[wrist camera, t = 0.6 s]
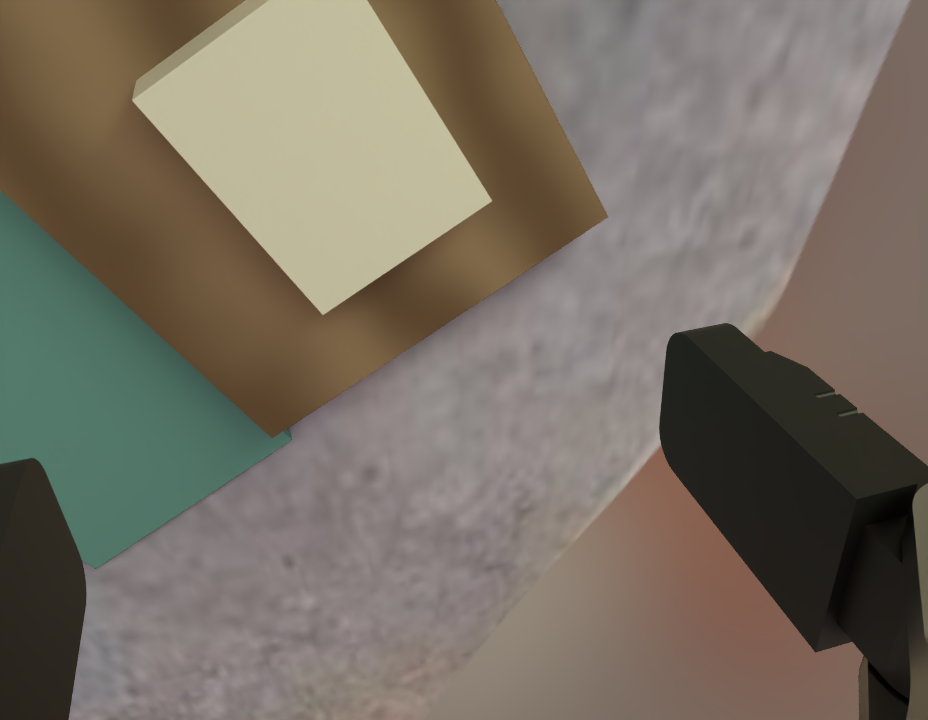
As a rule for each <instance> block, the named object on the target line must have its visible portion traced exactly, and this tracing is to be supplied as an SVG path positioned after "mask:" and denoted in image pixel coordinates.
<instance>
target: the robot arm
mask: <svg viewBox="0 0 928 720" xmlns="http://www.w3.org/2000/svg"><path fill="white" fill-rule="evenodd" d="M659 431H660V440H661V445H662V449H663V452H664V455H665V457H666V460H667V462H668V464H669V466H670V467H671V469H672V470H673V472H674V473H675V474H676V476H677V477H678V478H679V479H680V481H681V482H682V483H683V485H684V486H685V487H686V488H687V489H688V491H689V492H690V493H691V495H692V496H693V497H694V498H695V500H696V501H697V502H698V504H699V505H700V506H701V507H702V509H703V510H704V511H705V512H706V514H707V515H708V516H709V517H710V519H711V520H712V521H713V523H714V524H715V525H716V526H717V528H718V529H719V530H720V531H721V533H722V534H723V535H724V537H725V538H726V539H727V540H728V542H729V543H730V544H731V545H732V547H733V548H734V549H735V551H736V552H737V553H738V554H739V556H740V557H741V558H742V559H743V561H744V562H745V563H746V565H747V566H748V567H749V568H750V570H751V571H752V572H753V574H754V575H755V576H756V577H757V579H758V580H759V581H760V582H761V584H762V585H763V586H764V587H765V589H766V590H767V591H768V593H769V594H770V595H771V596H772V597H773V599H774V600H775V602H776V603H777V604H778V605H779V607H780V608H781V609H782V610H783V612H784V613H785V614H786V615H787V617H788V618H789V619H790V621H791V622H792V623H793V624H794V626H795V627H796V628H797V630H798V631H799V632H800V633H801V635H802V636H803V637H804V638H805V640H806V641H807V642H808V644H809V645H810V646H811V647H812V649H813V650H814V651H815V652H818V651H822V650H825V649H829V648H832V647H836V646H839V645H842V644H845V643H849V642H853V643H854V644H855V645H856V647H857V648H858V649H859V650H860V651H861V652H862V654H863V655H864V656H863V659H862V662H861V665H860V668H859V676H858V678H859V679H858V682H859V720H928V466H927V465H926V464H925V463H923V462H922V461H921V460H920V459H918V458H917V457H916V456H915V455H914V454H912V453H911V452H910V451H909V450H908V449H906V448H905V447H904V446H903V445H901V444H900V443H899V442H898V441H896V440H895V439H894V438H893V437H892V436H890V435H889V434H888V433H887V432H886V431H884V430H883V429H882V428H881V427H879V426H878V425H877V424H876V423H875V422H873V421H872V420H871V419H870V418H868V417H867V416H866V415H865V414H864V413H860V414H859V413H858V412H857V408H856V407H855V406H854V405H853V404H851V403H850V402H849V401H848V400H847V399H845V398H844V397H843V396H842V395H840V394H838V395H836V394H835V390H834V389H833V388H832V387H831V386H830V385H828V384H827V383H826V382H825V381H824V380H822V379H821V378H820V377H819V376H817V375H816V374H815V373H814V372H812V371H811V370H810V369H809V368H808V367H806V366H803V365H801V364H798V363H797V362H794V361H792V360H790V359H788V358H785V357H783V356H781V355H779V354H776V353H774V352H772V351H768V352H764V351H763V350H761V348H759V347H758V346H757V345H756V344H755V343H754V342H752V341H751V340H750V339H749V338H748V337H747V336H745V335H744V334H743V333H742V332H741V331H740V330H738V329H737V328H736V327H735V326H733V325H731V324H728V323H724V324H719V325H714V326H709V327H703V328H698V329H693V330H688V331H683V332H678V333H675V334H673V335H672V336H671V338H670V339H669V341H668V345H667V350H666V360H665V371H664V381H663V392H662V403H661V413H660V425H659ZM85 608H86V580H85V573H84V568H83V563H82V560H81V556H80V553H79V551H78V548H77V546H76V543H75V541H74V539H73V536H72V534H71V531H70V529H69V527H68V524H67V522H66V519H65V517H64V515H63V512H62V510H61V508H60V505H59V503H58V500H57V498H56V496H55V493H54V491H53V488H52V486H51V484H50V481H49V479H48V477H47V474H46V472H45V470H44V468H43V466H42V465H41V463H40V462H39V461H38V460H37V459H35V458H28V459H23V460H18V461H13V462H8V463H3V464H0V720H68V719H69V713H70V706H71V700H72V693H73V686H74V680H75V673H76V667H77V660H78V654H79V647H80V640H81V634H82V627H83V621H84V614H85Z"/></svg>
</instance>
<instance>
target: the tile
mask: <svg viewBox="0 0 928 720" xmlns="http://www.w3.org/2000/svg"><path fill="white" fill-rule="evenodd" d="M132 101H133V102H134V103H135V104H136V105H137V107H138V108H139V109H140V110H141V111H142V112H143V113H144V114H145V116H146V117H147V118H148V119H149V120H150V121H151V122H152V123H153V125H154V126H155V127H156V128H157V129H158V130H159V131H160V132H161V134H162V135H163V136H164V137H165V138H166V139H167V140H168V141H169V143H170V144H171V145H172V146H173V147H174V148H175V149H176V150H177V152H178V153H179V154H180V155H181V156H182V157H183V158H184V159H185V161H186V162H187V163H188V164H189V165H190V166H191V167H192V168H193V170H194V171H195V172H196V173H197V174H198V175H199V176H200V177H201V179H202V180H203V181H204V182H205V183H206V184H207V185H208V186H209V188H210V189H211V190H212V191H213V192H214V193H215V194H216V195H217V197H218V198H219V199H220V200H221V201H222V202H223V203H224V204H225V206H226V207H227V208H228V209H229V210H230V211H231V212H232V213H233V215H234V216H235V217H236V218H237V219H238V220H239V221H240V222H241V224H242V225H243V226H244V227H245V228H246V229H247V230H248V231H249V233H250V234H251V235H252V236H253V237H254V238H255V239H256V240H257V242H258V243H259V244H260V245H261V246H262V247H263V248H264V249H265V251H266V252H267V253H268V254H269V255H270V256H271V257H272V258H273V260H274V261H275V262H276V263H277V264H278V265H279V266H280V267H281V269H282V270H283V271H284V272H285V273H286V274H287V275H288V276H289V278H290V279H291V280H292V281H293V282H294V283H295V284H296V285H297V287H298V288H299V289H300V290H301V291H302V292H303V293H304V294H305V296H306V297H307V298H308V299H309V300H310V301H311V302H312V303H313V305H314V306H315V307H316V308H317V309H318V310H319V311H320V312H321V314H322V315H324V314H325V313H327V312H328V311H330V310H331V309H333V308H334V307H336V306H337V305H339V304H340V303H342V302H343V301H345V300H346V299H348V298H349V297H351V296H352V295H354V294H355V293H356V292H358V291H359V290H361V289H362V288H364V287H365V286H367V285H368V284H370V283H371V282H373V281H374V280H376V279H377V278H379V277H380V276H382V275H383V274H385V273H386V272H388V271H389V270H391V269H392V268H394V267H395V266H397V265H398V264H400V263H401V262H403V261H404V260H405V259H407V258H408V257H410V256H411V255H413V254H414V253H416V252H417V251H419V250H420V249H422V248H423V247H425V246H426V245H428V244H429V243H431V242H432V241H434V240H435V239H437V238H438V237H440V236H441V235H443V234H444V233H446V232H447V231H449V230H450V229H452V228H453V227H454V226H456V225H457V224H459V223H460V222H462V221H463V220H465V219H466V218H468V217H469V216H471V215H472V214H474V213H475V212H477V211H478V210H480V209H481V208H483V207H484V206H486V205H487V204H489V203H490V202H492V200H491V198H490V196H489V195H488V193H487V192H486V190H485V188H484V187H483V185H482V184H481V182H480V180H479V179H478V177H477V176H476V174H475V172H474V171H473V169H472V168H471V166H470V164H469V163H468V161H467V160H466V158H465V156H464V155H463V153H462V151H461V150H460V148H459V147H458V145H457V143H456V142H455V140H454V139H453V137H452V135H451V134H450V132H449V131H448V129H447V127H446V126H445V124H444V123H443V121H442V119H441V118H440V116H439V115H438V113H437V111H436V110H435V108H434V107H433V105H432V103H431V102H430V100H429V99H428V97H427V95H426V94H425V92H424V91H423V89H422V87H421V86H420V84H419V82H418V81H417V79H416V78H415V76H414V74H413V73H412V71H411V70H410V68H409V66H408V65H407V63H406V62H405V60H404V58H403V57H402V55H401V54H400V52H399V50H398V49H397V47H396V46H395V44H394V42H393V41H392V39H391V38H390V36H389V34H388V33H387V31H386V30H385V28H384V26H383V25H382V23H381V22H380V20H379V18H378V17H377V15H376V13H375V12H374V10H373V9H372V7H371V5H370V4H369V2H368V1H367V0H245V1H244V2H243V3H241V4H240V5H238V6H237V7H236V8H234V9H233V10H232V11H230V12H229V13H228V14H226V15H225V16H223V17H222V18H221V19H219V20H218V21H217V22H215V23H214V24H213V25H211V26H210V27H208V28H207V29H206V30H204V31H203V32H202V33H200V34H199V35H198V36H196V37H195V38H193V39H192V40H191V41H189V42H188V43H187V44H185V45H184V46H183V47H181V48H180V49H178V50H177V51H176V52H174V53H173V54H172V55H170V56H169V57H168V58H166V59H165V60H163V61H162V62H161V63H159V64H158V65H157V66H155V67H154V68H152V69H151V70H150V71H148V72H147V73H146V74H144V75H143V76H142V77H140V78H139V79H137V80H136V84H135V88H134V93H133V98H132Z"/></svg>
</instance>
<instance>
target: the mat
mask: <svg viewBox="0 0 928 720" xmlns="http://www.w3.org/2000/svg"><path fill="white" fill-rule="evenodd" d="M291 440H292V436H291V432H290V431H289V430H288V429H286V430H284V431H283V432H281V433H280V434H278V435H277V436H275V437H274V438H271V437H270V436H269V435H268V434H267V433H266V432H264V431H263V430H262V429H261V428H260V427H259V426H258V425H257V424H256V423H255V422H253V421H252V420H251V419H250V418H249V417H248V416H247V415H246V414H245V413H244V412H243V411H241V410H240V409H239V408H238V407H237V406H236V405H235V404H234V403H233V402H232V401H231V400H229V399H228V398H227V397H226V396H225V395H224V394H223V393H222V392H221V391H220V390H218V389H217V388H216V387H215V386H214V385H213V384H212V383H211V382H210V381H209V380H208V379H206V378H205V377H204V376H203V375H202V374H201V373H200V372H199V371H198V370H197V369H195V368H194V367H193V366H192V365H191V364H190V363H189V362H188V361H187V360H186V359H185V358H183V357H182V356H181V355H180V354H179V353H178V352H177V351H176V350H175V349H174V348H173V347H171V346H170V345H169V344H168V343H167V342H166V341H165V340H164V339H163V338H162V337H160V336H159V335H158V334H157V333H156V332H155V331H154V330H153V329H152V328H151V327H150V326H148V325H147V324H146V323H145V322H144V321H143V320H142V319H141V318H140V317H139V316H137V315H136V314H135V313H134V312H133V311H132V310H131V309H130V308H129V307H128V306H127V305H125V304H124V303H123V302H122V301H121V300H120V299H119V298H118V297H117V296H116V295H114V294H113V293H112V292H111V291H110V290H109V289H108V288H107V287H106V286H105V285H104V284H102V283H101V282H100V281H99V280H98V279H97V278H96V277H95V276H94V275H93V274H92V273H90V272H89V271H88V270H87V269H86V268H85V267H84V266H83V265H82V264H81V263H79V262H78V261H77V260H76V259H75V258H74V257H73V256H72V255H71V254H70V253H69V252H67V251H66V250H65V249H64V248H63V247H62V246H61V245H60V244H59V243H58V242H56V241H55V240H54V239H53V238H52V237H51V236H50V235H49V234H48V233H47V232H46V231H44V230H43V229H42V228H41V227H40V226H39V225H38V224H37V223H36V222H35V221H33V220H32V219H31V218H30V217H29V216H28V215H27V214H26V213H25V212H24V211H23V210H21V209H20V208H19V207H18V206H17V205H16V204H15V203H14V202H13V201H12V200H11V199H9V198H8V197H7V196H6V195H5V194H4V193H3V192H2V191H1V190H0V464H3V463H8V462H13V461H18V460H23V459H28V458H35V459H37V460H38V461H39V462H40V463H41V465H42V466H43V468H44V470H45V472H46V474H47V477H48V479H49V481H50V484H51V486H52V488H53V491H54V493H55V496H56V498H57V500H58V503H59V505H60V508H61V510H62V512H63V515H64V517H65V519H66V522H67V524H68V527H69V529H70V531H71V534H72V536H73V539H74V541H75V543H76V546H77V548H78V551H79V553H80V556H81V560H83V561H84V562H86V563H87V564H89V565H90V566H92V567H94V568H95V569H96V568H98V567H99V566H101V565H102V564H104V563H105V562H107V561H108V560H110V559H111V558H113V557H114V556H116V555H117V554H119V553H121V552H122V551H124V550H125V549H127V548H128V547H130V546H131V545H133V544H134V543H136V542H137V541H139V540H140V539H142V538H143V537H145V536H146V535H148V534H149V533H151V532H152V531H154V530H156V529H157V528H159V527H160V526H162V525H163V524H165V523H166V522H168V521H169V520H171V519H172V518H174V517H175V516H177V515H178V514H180V513H181V512H183V511H184V510H186V509H187V508H189V507H191V506H192V505H194V504H195V503H197V502H198V501H200V500H201V499H203V498H204V497H206V496H207V495H209V494H210V493H212V492H213V491H215V490H216V489H218V488H219V487H221V486H222V485H224V484H226V483H227V482H229V481H230V480H232V479H233V478H235V477H236V476H238V475H239V474H241V473H242V472H244V471H245V470H247V469H248V468H250V467H251V466H253V465H254V464H256V463H258V462H259V461H261V460H262V459H264V458H265V457H267V456H268V455H270V454H271V453H273V452H274V451H276V450H277V449H279V448H280V447H282V446H283V445H285V444H286V443H288V442H289V441H291Z"/></svg>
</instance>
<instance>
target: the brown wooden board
mask: <svg viewBox="0 0 928 720" xmlns="http://www.w3.org/2000/svg"><path fill="white" fill-rule="evenodd" d="M244 1H245V0H0V190H1V191H2V192H3V193H4V194H5V195H6V196H7V197H8V198H9V199H11V200H12V201H13V202H14V203H15V204H16V205H17V206H18V207H19V208H20V209H21V210H23V211H24V212H25V213H26V214H27V215H28V216H29V217H30V218H31V219H32V220H33V221H35V222H36V223H37V224H38V225H39V226H40V227H41V228H42V229H43V230H44V231H46V232H47V233H48V234H49V235H50V236H51V237H52V238H53V239H54V240H55V241H56V242H58V243H59V244H60V245H61V246H62V247H63V248H64V249H65V250H66V251H67V252H69V253H70V254H71V255H72V256H73V257H74V258H75V259H76V260H77V261H78V262H79V263H81V264H82V265H83V266H84V267H85V268H86V269H87V270H88V271H89V272H90V273H92V274H93V275H94V276H95V277H96V278H97V279H98V280H99V281H100V282H101V283H102V284H104V285H105V286H106V287H107V288H108V289H109V290H110V291H111V292H112V293H113V294H114V295H116V296H117V297H118V298H119V299H120V300H121V301H122V302H123V303H124V304H125V305H127V306H128V307H129V308H130V309H131V310H132V311H133V312H134V313H135V314H136V315H137V316H139V317H140V318H141V319H142V320H143V321H144V322H145V323H146V324H147V325H148V326H150V327H151V328H152V329H153V330H154V331H155V332H156V333H157V334H158V335H159V336H160V337H162V338H163V339H164V340H165V341H166V342H167V343H168V344H169V345H170V346H171V347H173V348H174V349H175V350H176V351H177V352H178V353H179V354H180V355H181V356H182V357H183V358H185V359H186V360H187V361H188V362H189V363H190V364H191V365H192V366H193V367H194V368H195V369H197V370H198V371H199V372H200V373H201V374H202V375H203V376H204V377H205V378H206V379H208V380H209V381H210V382H211V383H212V384H213V385H214V386H215V387H216V388H217V389H218V390H220V391H221V392H222V393H223V394H224V395H225V396H226V397H227V398H228V399H229V400H231V401H232V402H233V403H234V404H235V405H236V406H237V407H238V408H239V409H240V410H241V411H243V412H244V413H245V414H246V415H247V416H248V417H249V418H250V419H251V420H252V421H253V422H255V423H256V424H257V425H258V426H259V427H260V428H261V429H262V430H263V431H264V432H266V433H267V434H268V435H269V436H270V437H271V438H274V437H275V436H277V435H278V434H280V433H281V432H283V431H284V430H286V429H287V428H289V427H290V426H292V425H293V424H295V423H297V422H298V421H300V420H301V419H303V418H304V417H306V416H307V415H309V414H310V413H312V412H313V411H315V410H316V409H318V408H319V407H321V406H322V405H324V404H325V403H327V402H328V401H330V400H331V399H333V398H334V397H336V396H337V395H339V394H341V393H342V392H344V391H345V390H347V389H348V388H350V387H351V386H353V385H354V384H356V383H357V382H359V381H360V380H362V379H363V378H365V377H366V376H368V375H369V374H371V373H372V372H374V371H375V370H377V369H378V368H380V367H381V366H383V365H384V364H386V363H388V362H389V361H391V360H392V359H394V358H395V357H397V356H398V355H400V354H401V353H403V352H404V351H406V350H407V349H409V348H410V347H412V346H413V345H415V344H416V343H418V342H419V341H421V340H422V339H424V338H425V337H427V336H428V335H430V334H432V333H433V332H435V331H436V330H438V329H439V328H441V327H442V326H444V325H445V324H447V323H448V322H450V321H451V320H453V319H454V318H456V317H457V316H459V315H460V314H462V313H463V312H465V311H466V310H468V309H469V308H471V307H472V306H474V305H476V304H477V303H479V302H480V301H482V300H483V299H485V298H486V297H488V296H489V295H491V294H492V293H494V292H495V291H497V290H498V289H500V288H501V287H503V286H504V285H506V284H507V283H509V282H510V281H512V280H513V279H515V278H516V277H518V276H519V275H521V274H523V273H524V272H526V271H527V270H529V269H530V268H532V267H533V266H535V265H536V264H538V263H539V262H541V261H542V260H544V259H545V258H547V257H548V256H550V255H551V254H553V253H554V252H556V251H557V250H559V249H560V248H562V247H563V246H565V245H567V244H568V243H570V242H571V241H573V240H574V239H576V238H577V237H579V236H580V235H582V234H583V233H585V232H586V231H588V230H589V229H591V228H592V227H594V226H595V225H597V224H598V223H600V222H601V221H603V220H604V219H606V218H607V217H608V215H607V213H606V212H605V210H604V208H603V206H602V204H601V202H600V200H599V198H598V196H597V194H596V192H595V190H594V188H593V186H592V184H591V183H590V181H589V179H588V177H587V175H586V173H585V171H584V169H583V167H582V165H581V163H580V161H579V159H578V157H577V156H576V154H575V152H574V150H573V148H572V146H571V144H570V142H569V140H568V138H567V136H566V134H565V132H564V130H563V128H562V127H561V125H560V123H559V121H558V119H557V117H556V115H555V113H554V111H553V109H552V107H551V105H550V103H549V101H548V99H547V98H546V96H545V94H544V92H543V90H542V88H541V86H540V84H539V82H538V80H537V78H536V76H535V74H534V72H533V70H532V69H531V67H530V65H529V63H528V61H527V59H526V57H525V55H524V53H523V51H522V49H521V47H520V45H519V43H518V41H517V40H516V38H515V36H514V34H513V32H512V30H511V28H510V26H509V24H508V22H507V20H506V18H505V16H504V14H503V13H502V11H501V9H500V7H499V5H498V3H497V1H496V0H367V1H368V2H369V4H370V5H371V7H372V9H373V10H374V12H375V13H376V15H377V17H378V18H379V20H380V22H381V23H382V25H383V26H384V28H385V30H386V31H387V33H388V34H389V36H390V38H391V39H392V41H393V42H394V44H395V46H396V47H397V49H398V50H399V52H400V54H401V55H402V57H403V58H404V60H405V62H406V63H407V65H408V66H409V68H410V70H411V71H412V73H413V74H414V76H415V78H416V79H417V81H418V82H419V84H420V86H421V87H422V89H423V91H424V92H425V94H426V95H427V97H428V99H429V100H430V102H431V103H432V105H433V107H434V108H435V110H436V111H437V113H438V115H439V116H440V118H441V119H442V121H443V123H444V124H445V126H446V127H447V129H448V131H449V132H450V134H451V135H452V137H453V139H454V140H455V142H456V143H457V145H458V147H459V148H460V150H461V151H462V153H463V155H464V156H465V158H466V160H467V161H468V163H469V164H470V166H471V168H472V169H473V171H474V172H475V174H476V176H477V177H478V179H479V180H480V182H481V184H482V185H483V187H484V188H485V190H486V192H487V193H488V195H489V196H490V198H491V200H492V202H490V203H489V204H487V205H486V206H484V207H483V208H481V209H480V210H478V211H477V212H475V213H474V214H472V215H471V216H469V217H468V218H466V219H465V220H463V221H462V222H460V223H459V224H457V225H456V226H454V227H453V228H452V229H450V230H449V231H447V232H446V233H444V234H443V235H441V236H440V237H438V238H437V239H435V240H434V241H432V242H431V243H429V244H428V245H426V246H425V247H423V248H422V249H420V250H419V251H417V252H416V253H414V254H413V255H411V256H410V257H408V258H407V259H405V260H404V261H403V262H401V263H400V264H398V265H397V266H395V267H394V268H392V269H391V270H389V271H388V272H386V273H385V274H383V275H382V276H380V277H379V278H377V279H376V280H374V281H373V282H371V283H370V284H368V285H367V286H365V287H364V288H362V289H361V290H359V291H358V292H356V293H355V294H354V295H352V296H351V297H349V298H348V299H346V300H345V301H343V302H342V303H340V304H339V305H337V306H336V307H334V308H333V309H331V310H330V311H328V312H327V313H325V314H324V315H322V314H321V312H320V311H319V310H318V309H317V308H316V307H315V306H314V305H313V303H312V302H311V301H310V300H309V299H308V298H307V297H306V296H305V294H304V293H303V292H302V291H301V290H300V289H299V288H298V287H297V285H296V284H295V283H294V282H293V281H292V280H291V279H290V278H289V276H288V275H287V274H286V273H285V272H284V271H283V270H282V269H281V267H280V266H279V265H278V264H277V263H276V262H275V261H274V260H273V258H272V257H271V256H270V255H269V254H268V253H267V252H266V251H265V249H264V248H263V247H262V246H261V245H260V244H259V243H258V242H257V240H256V239H255V238H254V237H253V236H252V235H251V234H250V233H249V231H248V230H247V229H246V228H245V227H244V226H243V225H242V224H241V222H240V221H239V220H238V219H237V218H236V217H235V216H234V215H233V213H232V212H231V211H230V210H229V209H228V208H227V207H226V206H225V204H224V203H223V202H222V201H221V200H220V199H219V198H218V197H217V195H216V194H215V193H214V192H213V191H212V190H211V189H210V188H209V186H208V185H207V184H206V183H205V182H204V181H203V180H202V179H201V177H200V176H199V175H198V174H197V173H196V172H195V171H194V170H193V168H192V167H191V166H190V165H189V164H188V163H187V162H186V161H185V159H184V158H183V157H182V156H181V155H180V154H179V153H178V152H177V150H176V149H175V148H174V147H173V146H172V145H171V144H170V143H169V141H168V140H167V139H166V138H165V137H164V136H163V135H162V134H161V132H160V131H159V130H158V129H157V128H156V127H155V126H154V125H153V123H152V122H151V121H150V120H149V119H148V118H147V117H146V116H145V114H144V113H143V112H142V111H141V110H140V109H139V108H138V107H137V105H136V104H135V103H134V102H133V101H132V98H133V93H134V88H135V84H136V80H137V79H139V78H140V77H142V76H143V75H144V74H146V73H147V72H148V71H150V70H151V69H152V68H154V67H155V66H157V65H158V64H159V63H161V62H162V61H163V60H165V59H166V58H168V57H169V56H170V55H172V54H173V53H174V52H176V51H177V50H178V49H180V48H181V47H183V46H184V45H185V44H187V43H188V42H189V41H191V40H192V39H193V38H195V37H196V36H198V35H199V34H200V33H202V32H203V31H204V30H206V29H207V28H208V27H210V26H211V25H213V24H214V23H215V22H217V21H218V20H219V19H221V18H222V17H223V16H225V15H226V14H228V13H229V12H230V11H232V10H233V9H234V8H236V7H237V6H238V5H240V4H241V3H243V2H244Z"/></svg>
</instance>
